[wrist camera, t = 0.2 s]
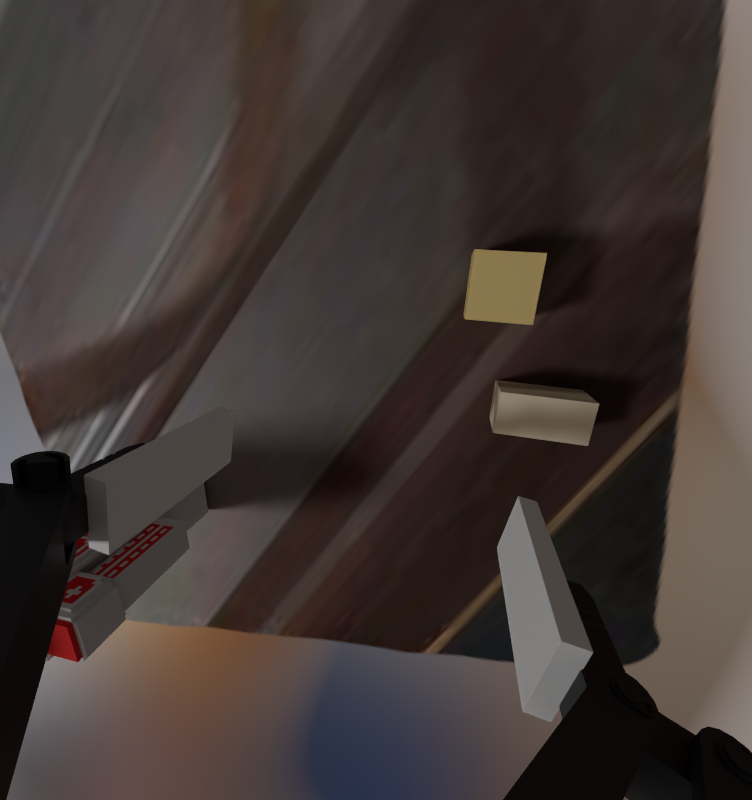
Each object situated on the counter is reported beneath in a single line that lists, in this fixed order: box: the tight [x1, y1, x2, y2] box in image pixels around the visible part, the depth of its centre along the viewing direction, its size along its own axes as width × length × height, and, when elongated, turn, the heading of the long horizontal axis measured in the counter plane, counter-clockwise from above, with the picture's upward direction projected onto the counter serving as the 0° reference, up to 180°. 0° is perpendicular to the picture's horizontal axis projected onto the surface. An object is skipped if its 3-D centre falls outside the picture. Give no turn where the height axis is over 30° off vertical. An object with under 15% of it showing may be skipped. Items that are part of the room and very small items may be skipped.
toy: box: [46, 483, 208, 662], centre depth 41 cm, size 22×8×30 cm, turn 89°
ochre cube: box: [464, 249, 547, 325], centre depth 35 cm, size 6×6×6 cm
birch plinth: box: [489, 380, 599, 446], centre depth 38 cm, size 4×9×5 cm, turn 86°
